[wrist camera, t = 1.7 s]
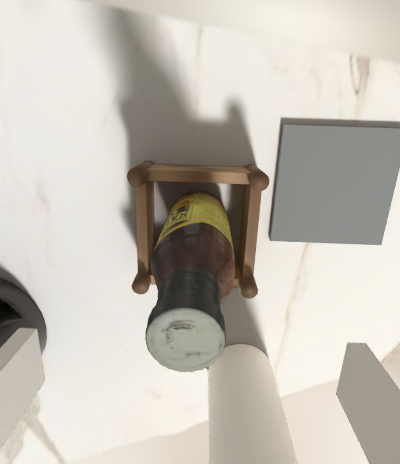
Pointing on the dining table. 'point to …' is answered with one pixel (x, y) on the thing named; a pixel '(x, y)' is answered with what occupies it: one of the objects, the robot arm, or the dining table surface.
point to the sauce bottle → (191, 284)
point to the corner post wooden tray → (152, 172)
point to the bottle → (246, 410)
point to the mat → (334, 184)
